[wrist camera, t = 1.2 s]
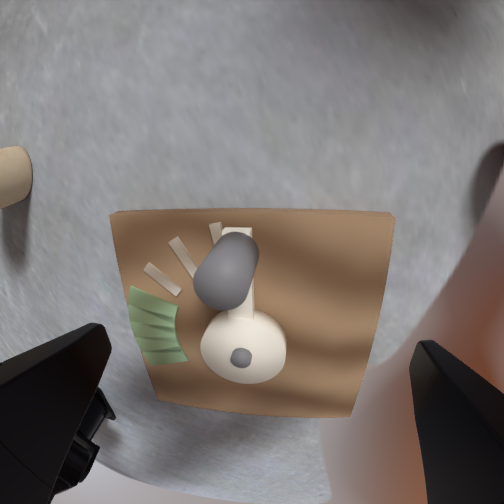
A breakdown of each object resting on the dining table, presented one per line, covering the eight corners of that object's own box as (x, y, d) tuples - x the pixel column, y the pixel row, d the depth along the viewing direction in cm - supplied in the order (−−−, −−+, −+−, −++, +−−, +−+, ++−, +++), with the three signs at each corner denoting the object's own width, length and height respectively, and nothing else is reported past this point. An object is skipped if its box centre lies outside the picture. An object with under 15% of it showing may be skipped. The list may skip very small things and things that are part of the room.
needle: (285, 371, 21) (279, 425, 17) (210, 365, 22) (192, 415, 17) (290, 225, 17) (287, 261, 12) (192, 224, 18) (156, 257, 13)
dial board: (348, 407, 24) (350, 419, 23) (162, 392, 27) (157, 402, 26) (389, 212, 17) (396, 218, 16) (118, 211, 20) (106, 216, 19)
